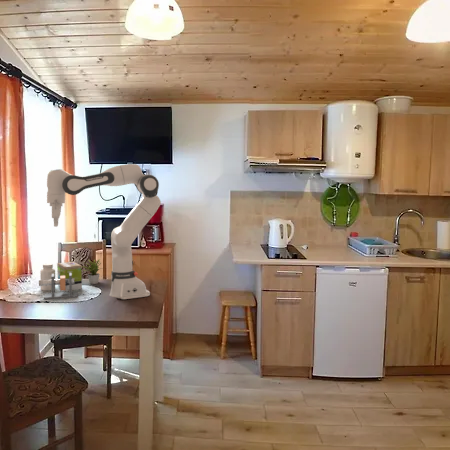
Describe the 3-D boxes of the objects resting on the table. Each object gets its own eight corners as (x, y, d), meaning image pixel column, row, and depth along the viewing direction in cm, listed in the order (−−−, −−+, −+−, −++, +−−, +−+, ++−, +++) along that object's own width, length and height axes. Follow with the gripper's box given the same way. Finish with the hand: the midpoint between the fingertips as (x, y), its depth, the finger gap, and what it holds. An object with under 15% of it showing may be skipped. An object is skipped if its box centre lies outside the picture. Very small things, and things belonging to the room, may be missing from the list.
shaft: (74, 283, 226) (74, 277, 226) (74, 284, 223) (74, 278, 223) (39, 285, 219) (39, 279, 219) (38, 286, 217) (38, 281, 216)
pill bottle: (56, 290, 236) (56, 264, 234) (42, 291, 231) (41, 266, 230) (53, 287, 242) (53, 262, 241) (39, 288, 238) (38, 263, 236)
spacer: (65, 287, 226) (65, 275, 226) (65, 290, 220) (65, 278, 219) (60, 287, 225) (60, 275, 225) (60, 290, 219) (60, 278, 218)
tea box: (57, 286, 244) (56, 262, 242) (74, 284, 250) (73, 261, 249) (65, 291, 232) (64, 266, 231) (82, 289, 238) (82, 264, 237)
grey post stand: (77, 292, 230) (76, 272, 229) (77, 297, 221) (77, 275, 220) (44, 294, 224) (44, 273, 223) (43, 299, 215) (43, 277, 214)
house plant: (89, 280, 261) (88, 255, 260) (109, 281, 259) (109, 256, 257) (77, 285, 247) (77, 259, 246) (98, 286, 245) (98, 260, 243)
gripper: (62, 200, 205) (62, 227, 206) (62, 199, 224) (62, 224, 225) (48, 200, 203) (48, 227, 204) (50, 199, 222) (50, 224, 223)
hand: (56, 225), depth 215 cm, fingers open, 8 cm apart
